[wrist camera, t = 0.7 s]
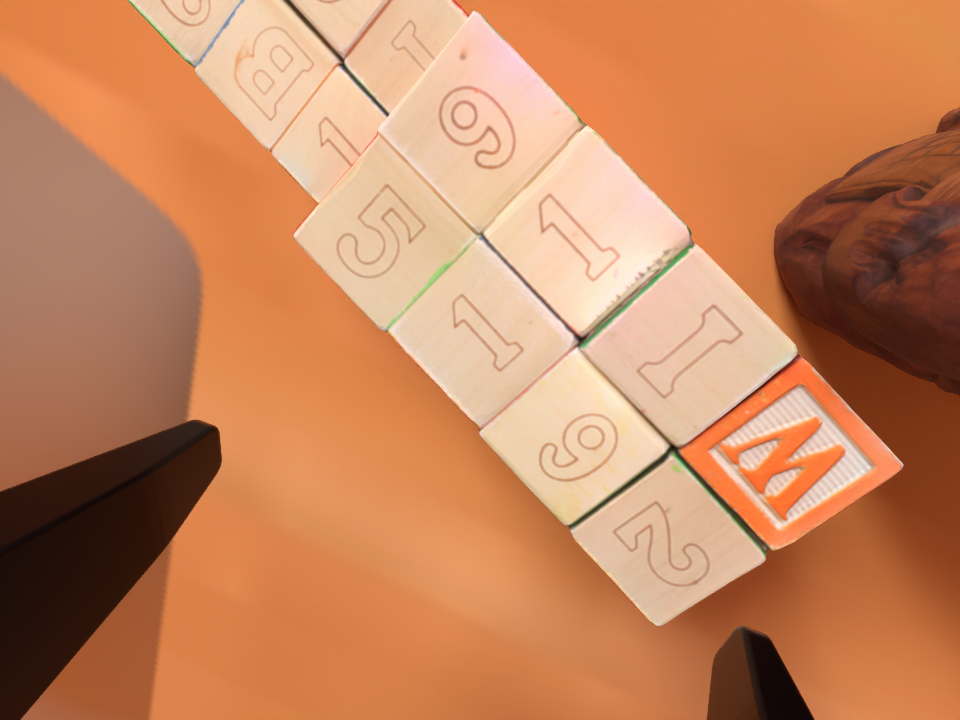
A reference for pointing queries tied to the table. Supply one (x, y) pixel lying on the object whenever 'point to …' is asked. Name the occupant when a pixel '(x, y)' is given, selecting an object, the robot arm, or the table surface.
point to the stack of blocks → (538, 285)
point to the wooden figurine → (885, 255)
